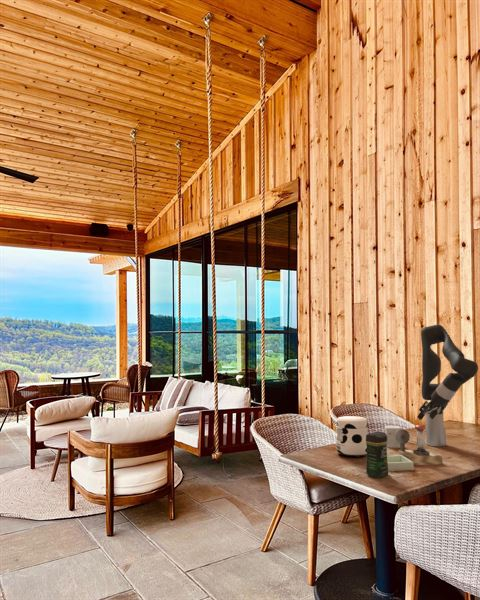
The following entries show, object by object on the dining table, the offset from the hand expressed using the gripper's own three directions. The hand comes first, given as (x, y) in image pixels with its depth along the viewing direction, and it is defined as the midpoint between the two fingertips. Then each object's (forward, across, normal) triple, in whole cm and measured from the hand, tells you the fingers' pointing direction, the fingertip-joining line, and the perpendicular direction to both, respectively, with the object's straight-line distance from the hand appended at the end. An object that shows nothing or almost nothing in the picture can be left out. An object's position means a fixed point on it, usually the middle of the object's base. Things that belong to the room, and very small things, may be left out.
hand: (425, 418), depth 216 cm
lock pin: (+16, -2, +8) cm, 18 cm away
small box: (+36, -15, -12) cm, 41 cm away
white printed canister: (+38, +14, -11) cm, 42 cm away
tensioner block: (+21, -3, +9) cm, 23 cm away
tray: (+22, +13, +9) cm, 27 cm away
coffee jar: (+20, +29, +14) cm, 38 cm away
